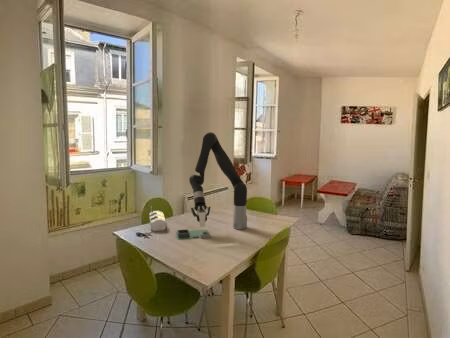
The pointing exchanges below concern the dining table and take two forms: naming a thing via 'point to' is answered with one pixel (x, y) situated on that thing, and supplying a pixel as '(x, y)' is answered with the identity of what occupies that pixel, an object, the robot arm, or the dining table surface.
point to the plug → (202, 218)
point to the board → (192, 234)
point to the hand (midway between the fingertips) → (202, 221)
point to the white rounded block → (157, 221)
